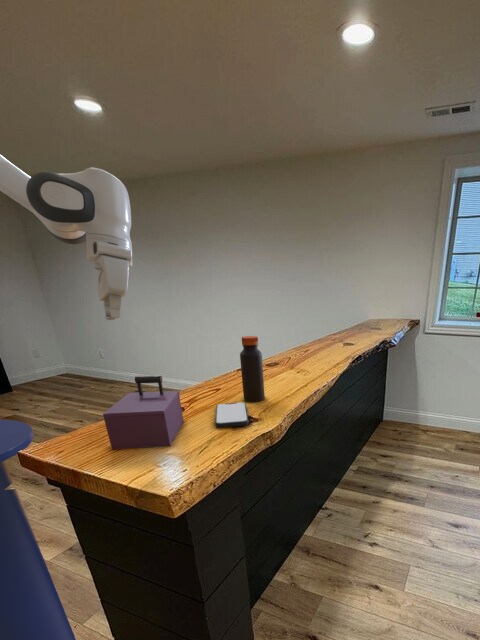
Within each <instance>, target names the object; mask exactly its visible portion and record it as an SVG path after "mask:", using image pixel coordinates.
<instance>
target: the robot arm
mask: <svg viewBox="0 0 480 640" xmlns="http://www.w3.org/2000/svg"><path fill="white" fill-rule="evenodd" d="M0 193H2V194H4V195H5V196H7V197H8V198H9V199H10V200H12V201H14V202H15V203H17V204H18V205H20V207H22V208H24V209H26V210H27V211H28V212H30V213H31V214H32V215H33V216H34V217H35V218H36V220H38V221H39V222H40V224H41V225H42V226H43V228H44V229H45V230H46V231H47V232H48V233H49V234H50V235H51V236H52V237H53V238H55V239H56V240H58V241H60V242H62V243H65V244H69V245H78V244H82V243H85V245H86V259H87V261H89V262H92V263H93V269H95V270H97V286H98V287H97V291H98V293H97V294H98V299H99V301H100V302H103V308H104V313H105V314H104V315H105V319H106V321H114V320H115V319H119V318H121V305H122V298H123V297H125V296H126V295H127V293H128V287H129V277H130V269H132V268H133V243H132V239H131V228H132V210H131V209H132V208H131V201H130V196H129V192H128V190H127V187H126V185H124V183H123V182H122V181H121V180H120V179H119V178H118V177H116V176H115V175H113V174H112V173H110V172H108V171H107V170H104V169H102V168H97V167H88V168H86V169H84V170H82V171H77V172H72V173H71V172H70V173H57V172H51V171H40V172H37V173H35V174H32V176H30V175H28V174H27V173H25V172H24V171H23V170H22V169H20V168H19V167H17V166H16V165H15V164H13V163H12V162H10V161H9V160H8V159H7V158H5V157H4V156H3V155H1V154H0Z"/></svg>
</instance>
